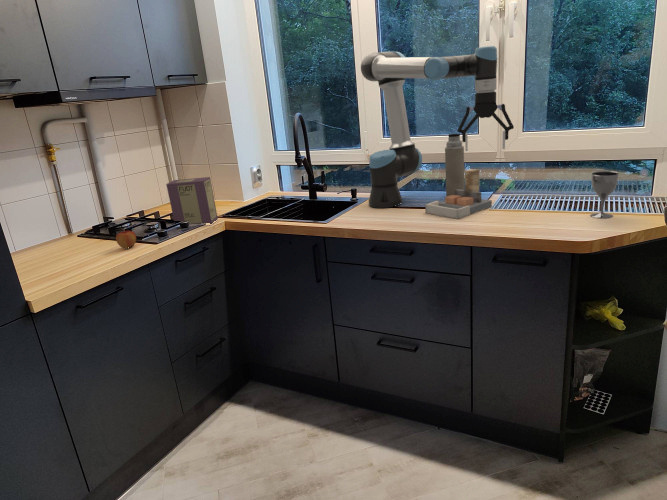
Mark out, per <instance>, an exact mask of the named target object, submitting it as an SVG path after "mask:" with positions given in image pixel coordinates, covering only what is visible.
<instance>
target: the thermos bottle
mask: <svg viewBox="0 0 667 500" xmlns="http://www.w3.org/2000/svg"><path fill="white" fill-rule="evenodd" d="M447 135H448V141H446V146H445V147H444V158H445V159H444V160H445V161H444V162H445V163H444V165H445V168H444V169H445V197H447V196H450V195H455V190H456V189H460V190H465V146H464V145H463V141H462V139H461V137H460V136H461V134H460V133H449V134H447Z"/></svg>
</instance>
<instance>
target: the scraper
mask: <svg viewBox="0 0 667 500" xmlns="http://www.w3.org/2000/svg"><path fill="white" fill-rule="evenodd" d="M455 195H457V196H461V197H471V198H473V202H477V203H480V202H481V199H482V192H481V191H480V169H475V168H474V169H473V168H472V169H471V168H470V169H466V170H464V190H460V189H456V190H455Z"/></svg>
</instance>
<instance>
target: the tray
mask: <svg viewBox="0 0 667 500" xmlns="http://www.w3.org/2000/svg"><path fill="white" fill-rule="evenodd" d="M439 202H440V201H439V200H435V201H432V202H429V203H425V205H424V209H425V214H428V215H429V214H430V215H435V216H439V217H440V216H441V217H445V218H449V219H450V218H451V219H456V220H459V219H462V218H465V217H468V216H470V215H471V214H470V206H469V205H468V206H465V207H462V208H459V209H453V208H447V207H441V206H439Z"/></svg>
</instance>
